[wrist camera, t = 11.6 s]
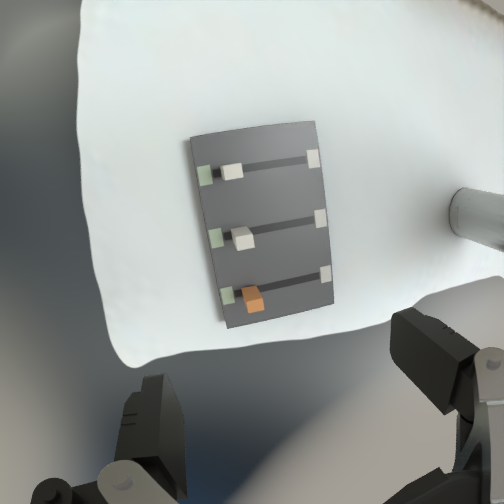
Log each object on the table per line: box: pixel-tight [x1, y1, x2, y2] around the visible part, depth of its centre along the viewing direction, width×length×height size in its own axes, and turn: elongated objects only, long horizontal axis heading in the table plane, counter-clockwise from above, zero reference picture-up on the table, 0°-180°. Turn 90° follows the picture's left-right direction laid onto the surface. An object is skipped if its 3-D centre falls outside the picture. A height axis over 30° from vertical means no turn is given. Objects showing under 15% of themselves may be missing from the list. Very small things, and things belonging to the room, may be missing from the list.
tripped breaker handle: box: [241, 285, 264, 313], centre depth 40 cm, size 2×2×4 cm
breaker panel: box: [190, 121, 334, 329], centre depth 40 cm, size 16×26×7 cm, turn 9°
